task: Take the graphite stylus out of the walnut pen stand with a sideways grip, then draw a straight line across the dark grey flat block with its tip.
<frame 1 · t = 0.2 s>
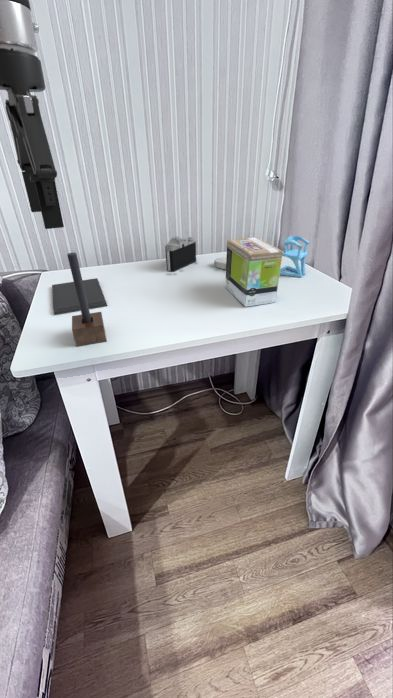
hand: (46, 219, 55), 28 cm above the table, tool pointing down, fingers open, 13 cm apart
pen stand: (91, 336, 77), on the table
camera: (178, 265, 117), on the table
stylus: (82, 298, 71), in the pen stand
dark grey flat block: (78, 296, 96), on the table
tea box: (249, 295, 95), on the table
electronic device: (233, 269, 113), on the table
chair: (291, 274, 109), on the table
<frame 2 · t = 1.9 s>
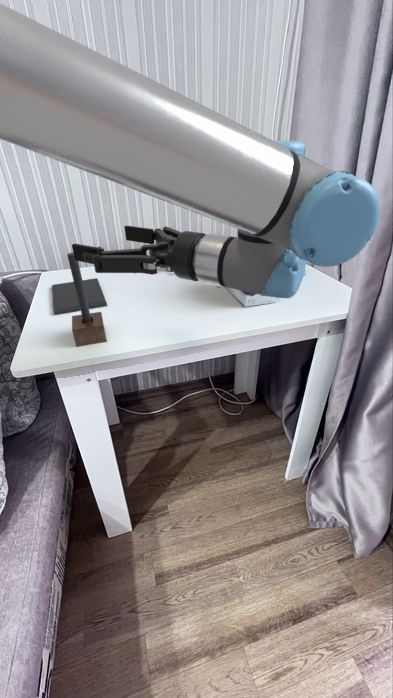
hand: (102, 241, 60), 24 cm above the table, tool horizontal, fingers open, 13 cm apart
nothing on the table moved.
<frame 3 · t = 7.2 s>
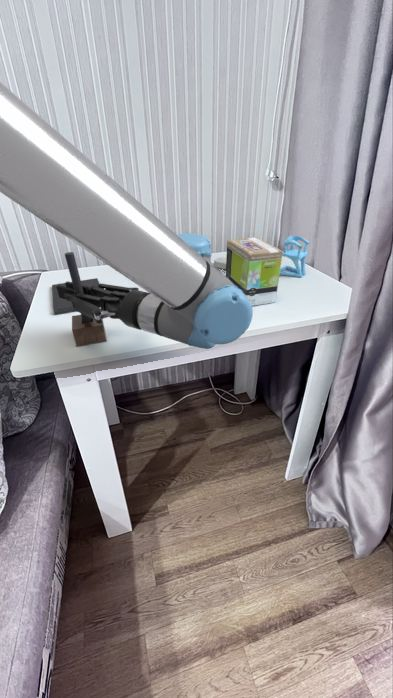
hand: (63, 289, 73), 11 cm above the table, tool horizontal, fingers closed on stylus, 2 cm apart
stylus: (80, 298, 72), in the pen stand, touching gripper
everything else where it was.
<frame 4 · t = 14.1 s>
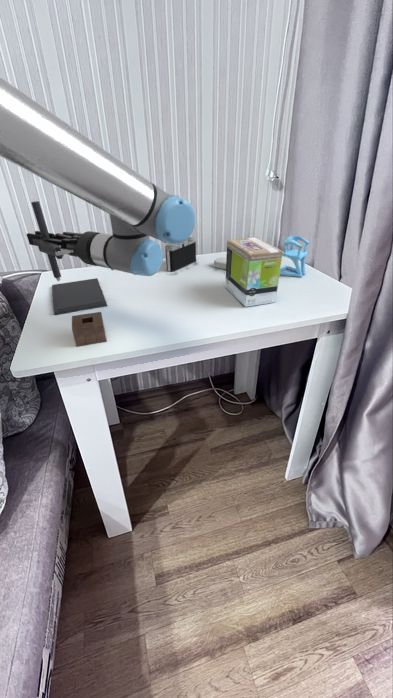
hand: (33, 237, 84), 18 cm above the table, tool horizontal, fingers closed on stylus, 2 cm apart
stylus: (47, 244, 83), point 17 cm above the table, touching gripper
everything else where it was.
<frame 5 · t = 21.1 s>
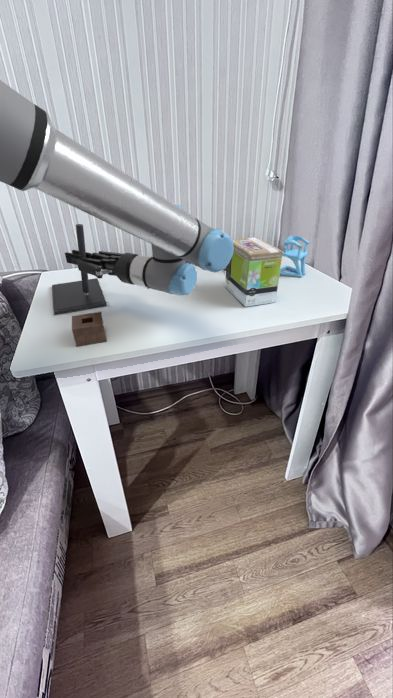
hand: (70, 256, 90), 12 cm above the table, tool horizontal, fingers closed on stylus, 2 cm apart
stylus: (83, 262, 88), on the dark grey flat block, point 11 cm above the table, tilted 7°, touching gripper
everything else where it was.
at the end: stylus touching gripper, dark grey flat block; stylus 2.0 cm from the target spot on the dark grey flat block, point 10.9 cm above the dark grey flat block's base; the gripper is holding stylus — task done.
